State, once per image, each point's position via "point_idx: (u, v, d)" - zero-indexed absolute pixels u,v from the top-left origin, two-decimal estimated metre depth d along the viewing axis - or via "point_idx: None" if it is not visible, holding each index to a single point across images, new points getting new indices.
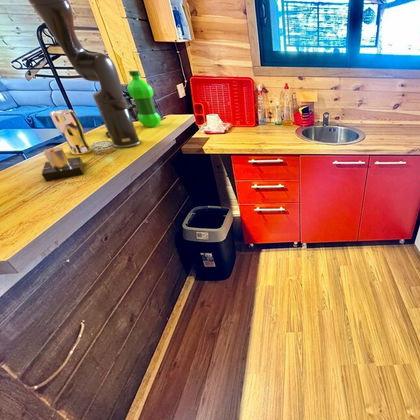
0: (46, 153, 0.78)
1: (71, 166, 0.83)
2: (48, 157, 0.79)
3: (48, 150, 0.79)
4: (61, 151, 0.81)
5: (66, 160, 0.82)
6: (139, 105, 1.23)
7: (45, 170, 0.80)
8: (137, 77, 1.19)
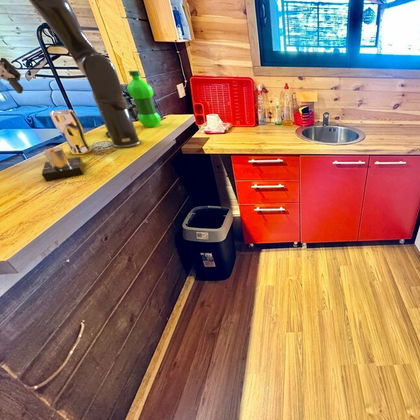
0: (46, 153, 0.78)
1: (71, 166, 0.83)
2: (48, 157, 0.79)
3: (48, 150, 0.79)
4: (61, 151, 0.81)
5: (66, 160, 0.82)
6: (139, 105, 1.23)
7: (45, 170, 0.80)
8: (137, 77, 1.19)
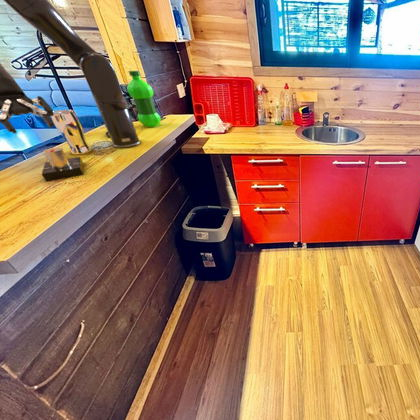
0: (46, 153, 0.78)
1: (71, 166, 0.83)
2: (48, 157, 0.79)
3: (48, 150, 0.79)
4: (61, 151, 0.81)
5: (66, 160, 0.82)
6: (139, 105, 1.23)
7: (45, 170, 0.80)
8: (137, 77, 1.19)
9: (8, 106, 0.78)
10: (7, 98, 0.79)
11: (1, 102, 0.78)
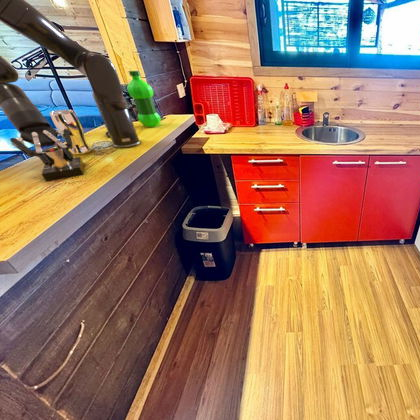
0: (46, 153, 0.78)
1: (71, 166, 0.83)
2: (48, 157, 0.79)
3: (48, 150, 0.79)
4: (61, 151, 0.81)
5: (66, 160, 0.82)
6: (139, 105, 1.23)
7: (45, 170, 0.80)
8: (137, 77, 1.19)
9: (34, 138, 0.78)
10: (33, 130, 0.79)
11: (27, 134, 0.78)
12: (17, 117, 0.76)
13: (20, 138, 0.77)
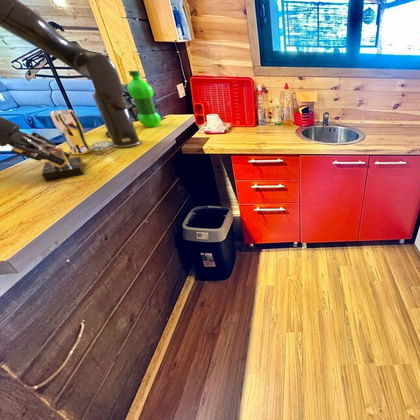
0: (55, 152, 0.79)
1: (71, 166, 0.83)
2: None
3: (50, 150, 0.79)
4: None
5: None
6: (139, 105, 1.23)
7: (45, 170, 0.80)
8: (137, 77, 1.19)
9: (31, 142, 0.76)
10: (16, 136, 0.74)
11: (19, 140, 0.74)
12: None
13: None
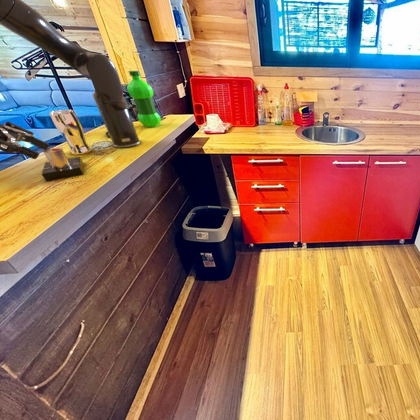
0: (55, 152, 0.79)
1: (71, 166, 0.83)
2: (57, 156, 0.80)
3: (50, 150, 0.79)
4: None
5: None
6: (139, 105, 1.23)
7: (45, 170, 0.80)
8: (137, 77, 1.19)
9: (8, 134, 0.73)
10: None
11: None
12: None
13: None
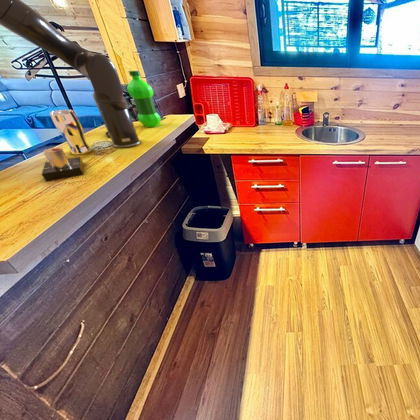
0: (55, 152, 0.79)
1: (71, 166, 0.83)
2: (57, 156, 0.80)
3: (50, 150, 0.79)
4: None
5: None
6: (139, 105, 1.23)
7: (45, 170, 0.80)
8: (137, 77, 1.19)
9: None
10: None
11: None
12: None
13: None
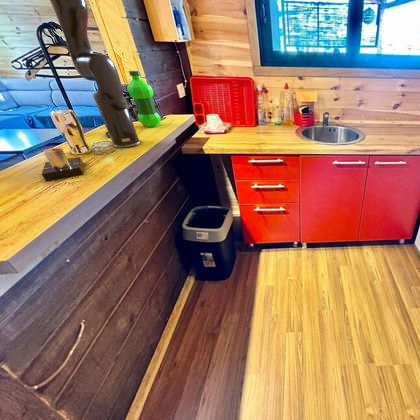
0: (55, 152, 0.79)
1: (71, 166, 0.83)
2: (57, 156, 0.80)
3: (50, 150, 0.79)
4: None
5: None
6: (139, 105, 1.23)
7: (45, 170, 0.80)
8: (137, 77, 1.19)
9: None
10: None
11: None
12: None
13: None
